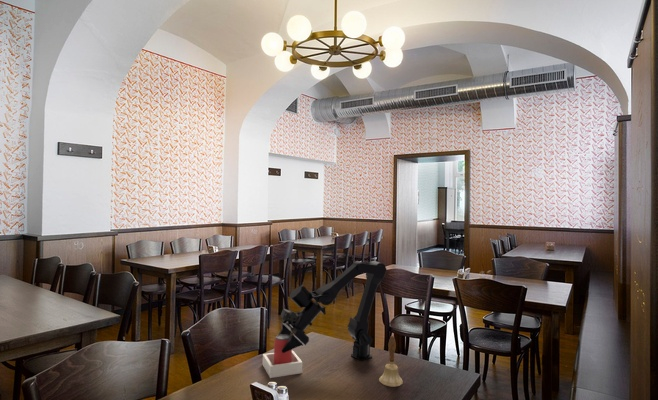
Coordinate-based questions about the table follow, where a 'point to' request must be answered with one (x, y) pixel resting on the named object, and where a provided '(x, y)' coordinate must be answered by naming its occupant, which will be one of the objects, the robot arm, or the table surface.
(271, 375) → the box
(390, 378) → the hand bell
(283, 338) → the beer can
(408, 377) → the table surface
